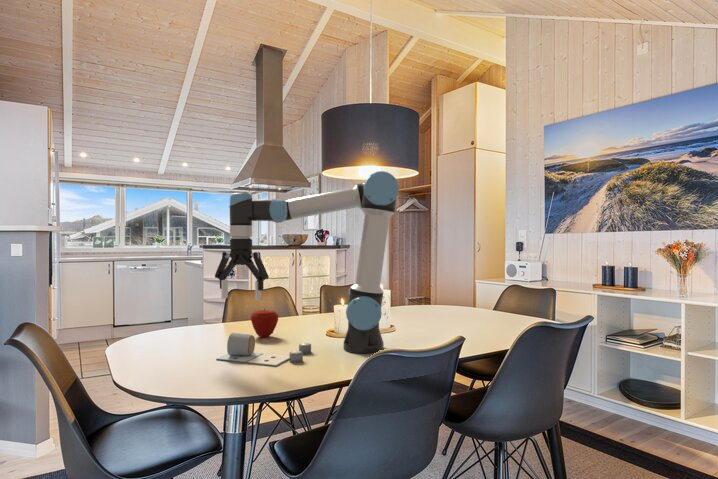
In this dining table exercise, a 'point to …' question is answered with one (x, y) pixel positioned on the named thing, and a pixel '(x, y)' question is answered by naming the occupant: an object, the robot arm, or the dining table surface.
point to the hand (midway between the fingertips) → (241, 299)
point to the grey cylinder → (240, 344)
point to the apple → (264, 322)
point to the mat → (256, 359)
